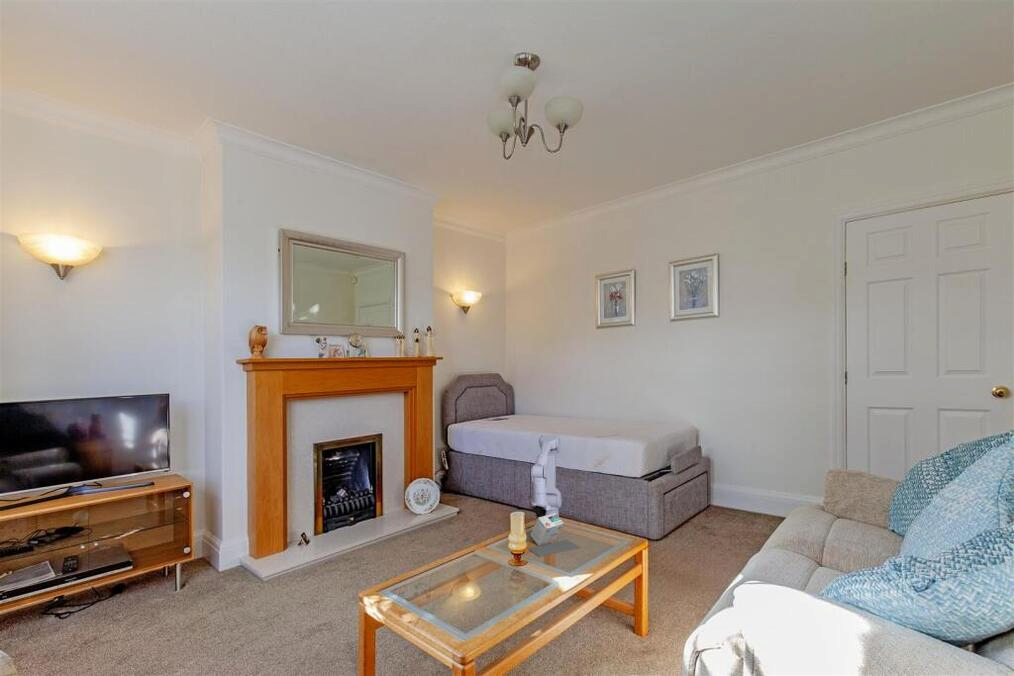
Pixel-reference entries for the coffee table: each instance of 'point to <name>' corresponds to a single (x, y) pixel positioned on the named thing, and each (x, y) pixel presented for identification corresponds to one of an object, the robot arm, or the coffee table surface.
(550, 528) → the light bulb box
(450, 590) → the coffee table surface
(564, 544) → the mat
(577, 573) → the coffee table surface
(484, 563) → the coffee table surface
